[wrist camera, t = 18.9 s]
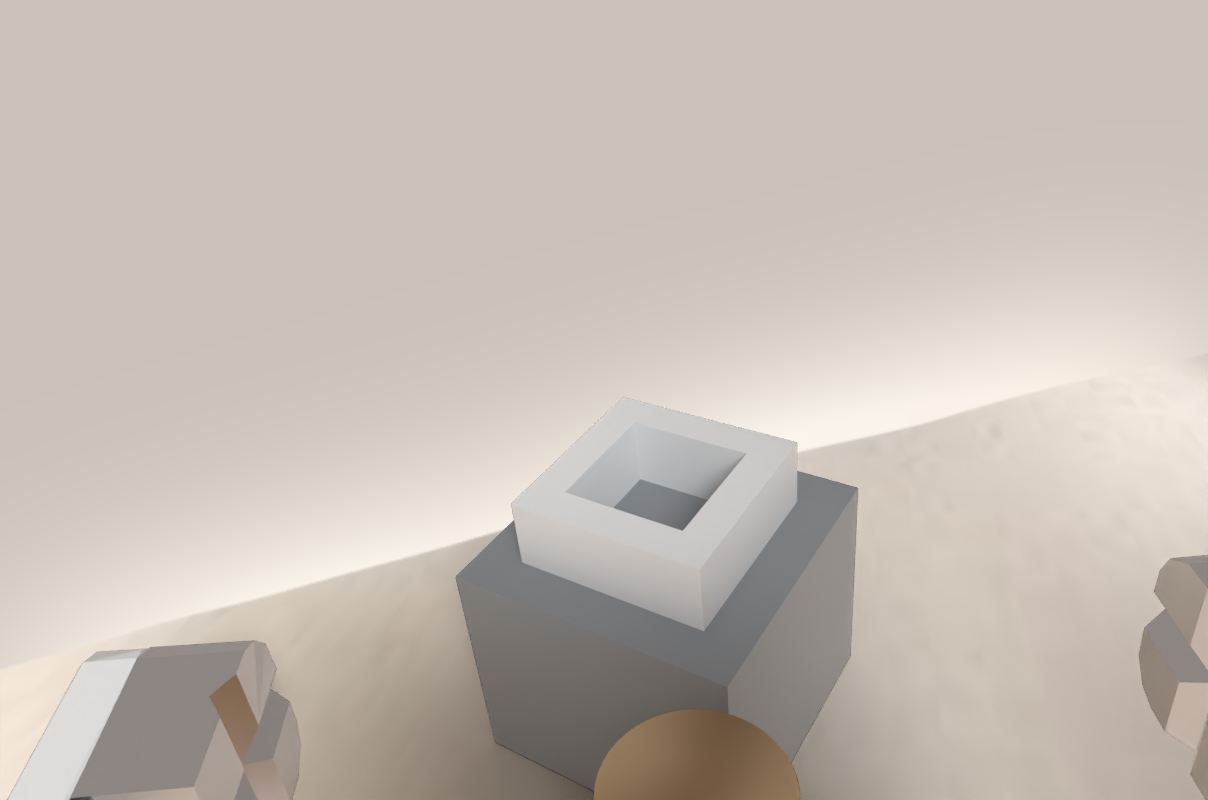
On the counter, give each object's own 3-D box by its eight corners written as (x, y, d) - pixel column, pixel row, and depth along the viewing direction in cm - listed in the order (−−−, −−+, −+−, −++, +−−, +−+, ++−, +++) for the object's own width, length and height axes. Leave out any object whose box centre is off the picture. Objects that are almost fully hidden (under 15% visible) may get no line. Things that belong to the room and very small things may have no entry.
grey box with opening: (850, 655, 48) (861, 428, 41) (736, 862, 40) (724, 623, 33) (633, 576, 54) (609, 367, 47) (495, 742, 46) (441, 518, 39)
